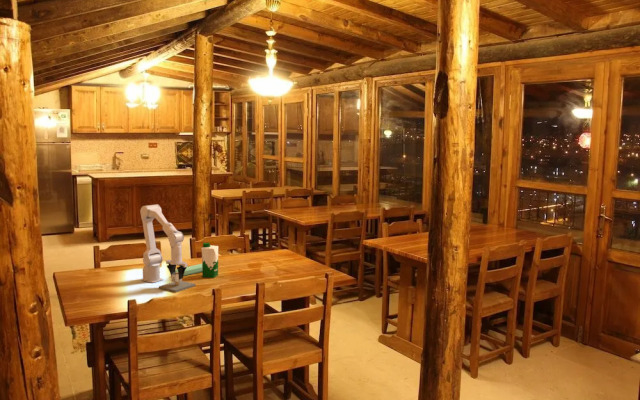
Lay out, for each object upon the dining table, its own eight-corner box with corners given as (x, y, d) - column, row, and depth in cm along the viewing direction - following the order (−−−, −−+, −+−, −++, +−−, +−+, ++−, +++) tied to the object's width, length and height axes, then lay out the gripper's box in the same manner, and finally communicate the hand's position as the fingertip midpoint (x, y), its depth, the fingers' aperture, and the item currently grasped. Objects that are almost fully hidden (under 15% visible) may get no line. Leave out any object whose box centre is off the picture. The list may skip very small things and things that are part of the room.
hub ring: (169, 280, 308) (169, 273, 308) (177, 278, 313) (176, 271, 312) (176, 282, 305) (176, 275, 305) (184, 280, 310) (183, 273, 309)
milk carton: (206, 273, 338) (205, 241, 335) (220, 274, 336) (219, 242, 333) (200, 277, 329) (199, 244, 326) (214, 278, 327) (214, 245, 325)
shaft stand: (158, 288, 307) (158, 279, 306) (178, 282, 319) (178, 273, 319) (175, 292, 300) (175, 283, 299) (195, 285, 313) (195, 276, 312)
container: (176, 268, 327) (211, 260, 345) (171, 270, 332) (206, 262, 349) (178, 277, 327) (213, 269, 344) (173, 279, 331) (209, 271, 348)
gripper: (161, 253, 307) (162, 277, 309) (180, 257, 300) (181, 281, 302) (171, 251, 313) (171, 274, 315) (190, 254, 306) (190, 278, 308)
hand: (177, 278), depth 309 cm, fingers closed on hub ring, 5 cm apart
